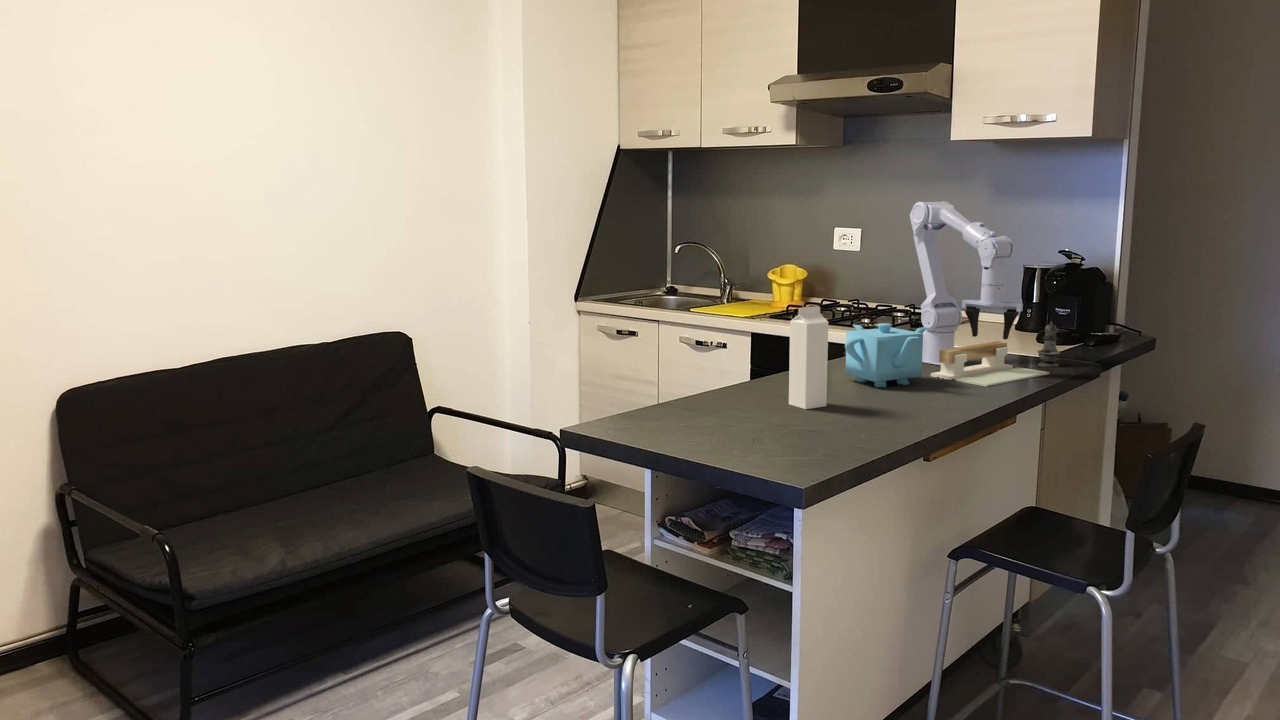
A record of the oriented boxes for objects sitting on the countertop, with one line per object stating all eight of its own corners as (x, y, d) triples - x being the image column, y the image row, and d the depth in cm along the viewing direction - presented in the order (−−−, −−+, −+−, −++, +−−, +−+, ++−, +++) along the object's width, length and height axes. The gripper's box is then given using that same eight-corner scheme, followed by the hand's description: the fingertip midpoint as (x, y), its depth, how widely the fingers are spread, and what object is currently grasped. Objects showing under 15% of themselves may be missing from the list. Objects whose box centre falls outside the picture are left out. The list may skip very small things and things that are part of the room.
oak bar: (938, 362, 244) (939, 350, 244) (996, 352, 258) (997, 341, 257) (948, 363, 242) (949, 351, 241) (1006, 353, 255) (1007, 342, 255)
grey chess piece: (1056, 363, 262) (1059, 319, 260) (1063, 367, 256) (1066, 322, 254) (1033, 363, 263) (1036, 319, 261) (1040, 366, 257) (1043, 322, 255)
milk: (826, 406, 213) (829, 307, 209) (805, 409, 210) (807, 309, 206) (808, 401, 218) (811, 304, 214) (787, 404, 216) (790, 306, 212)
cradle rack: (930, 376, 246) (931, 353, 245) (993, 364, 260) (994, 343, 259) (950, 379, 241) (951, 357, 240) (1012, 368, 255) (1014, 346, 254)
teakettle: (839, 387, 233) (841, 327, 231) (851, 373, 251) (852, 317, 248) (920, 392, 227) (923, 330, 224) (926, 377, 244) (929, 320, 242)
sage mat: (955, 380, 240) (955, 378, 239) (1017, 369, 254) (1018, 367, 254) (986, 386, 232) (986, 384, 232) (1049, 374, 247) (1049, 372, 247)
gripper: (959, 284, 245) (956, 337, 247) (1019, 287, 237) (1015, 342, 239) (968, 281, 251) (965, 333, 253) (1026, 285, 242) (1022, 338, 245)
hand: (990, 337), depth 247 cm, fingers open, 7 cm apart
